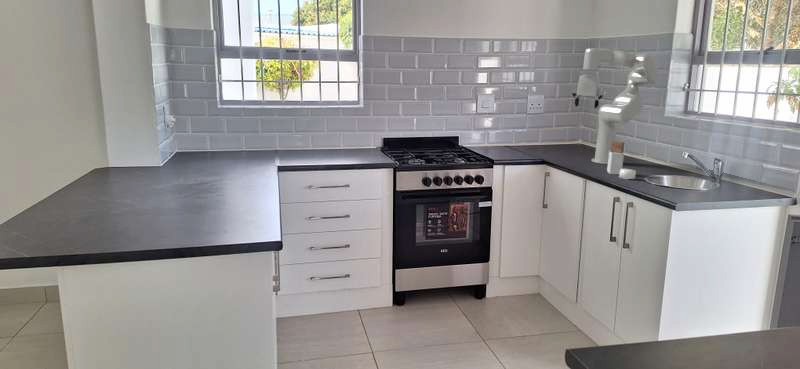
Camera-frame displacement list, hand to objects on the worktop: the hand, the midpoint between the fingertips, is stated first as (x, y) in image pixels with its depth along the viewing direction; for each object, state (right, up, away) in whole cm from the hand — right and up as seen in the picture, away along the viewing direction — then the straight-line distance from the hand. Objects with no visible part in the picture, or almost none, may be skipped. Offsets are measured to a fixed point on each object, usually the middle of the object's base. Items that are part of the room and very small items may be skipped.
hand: (586, 107), depth 290 cm
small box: (+10, -35, -12) cm, 38 cm away
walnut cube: (+10, -24, -14) cm, 30 cm away
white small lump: (+11, -37, -24) cm, 45 cm away
